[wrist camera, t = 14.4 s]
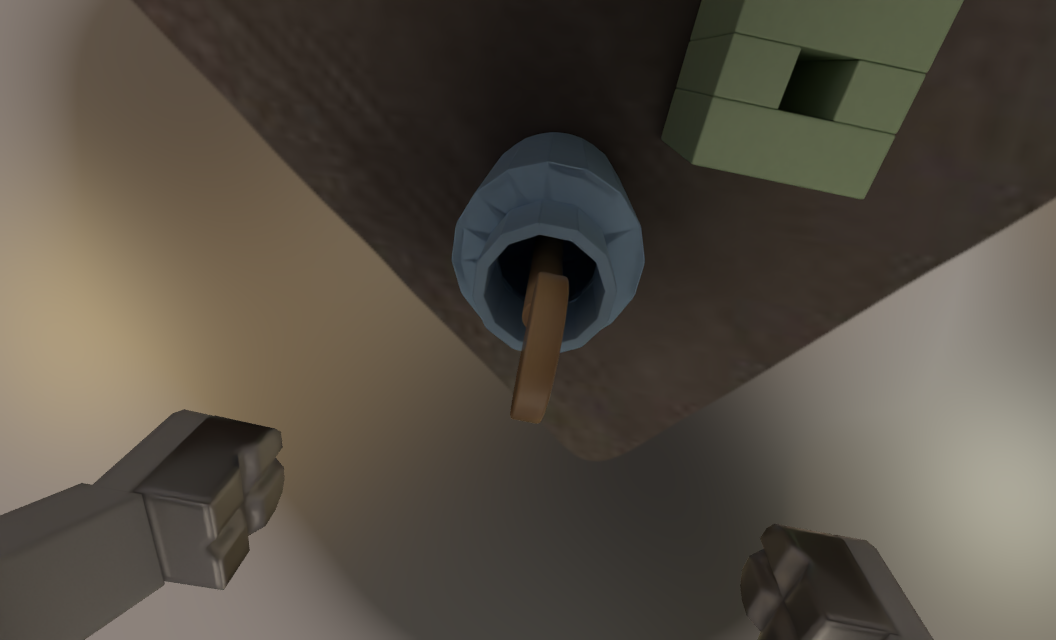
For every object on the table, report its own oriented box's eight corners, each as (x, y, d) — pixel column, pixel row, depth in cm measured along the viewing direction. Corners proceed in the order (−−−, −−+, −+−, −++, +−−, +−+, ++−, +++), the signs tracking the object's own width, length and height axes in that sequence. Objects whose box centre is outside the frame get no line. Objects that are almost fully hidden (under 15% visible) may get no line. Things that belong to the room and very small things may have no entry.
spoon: (549, 167, 26) (524, 309, 11) (572, 172, 26) (579, 320, 11) (534, 241, 27) (496, 448, 13) (556, 245, 27) (542, 458, 13)
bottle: (497, 119, 25) (446, 158, 14) (637, 147, 25) (688, 208, 15) (478, 252, 28) (424, 364, 18) (601, 276, 29) (621, 402, 18)
